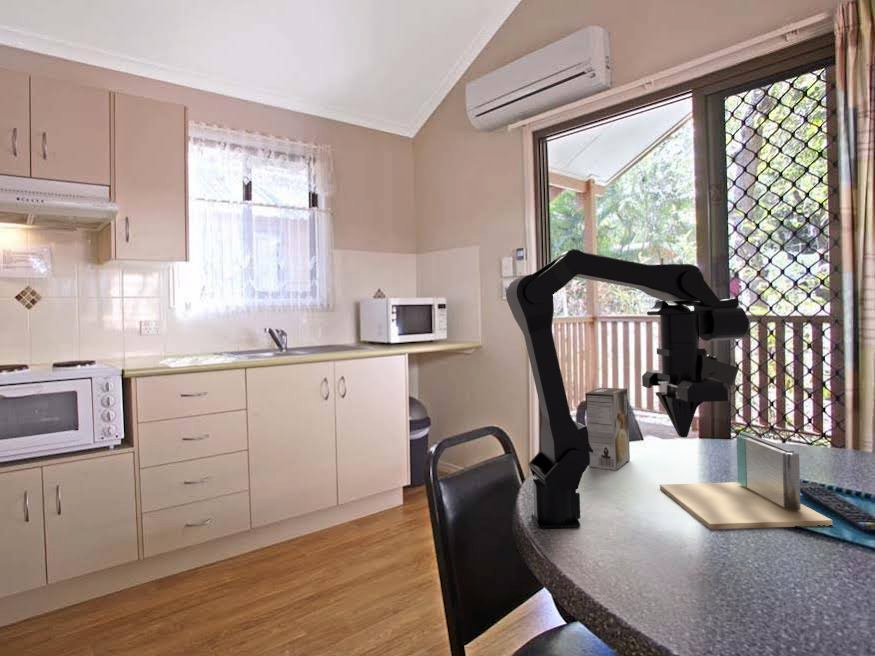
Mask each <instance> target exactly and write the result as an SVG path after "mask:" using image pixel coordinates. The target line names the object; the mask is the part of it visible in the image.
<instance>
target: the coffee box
mask: <svg viewBox="0 0 875 656" xmlns="http://www.w3.org/2000/svg"><path fill="white" fill-rule="evenodd" d="M628 402H629V401H628V388H618V387H598V388H596V389H593V390H590V391H588V392H586V393H585V414H586V419H585V420H586V427H587V430H588V439H589V444H590V447H591V448H592V450H593V453H591V452H589V453H590V465H589V466H588V467H590V468H597V469H602V468H603V470H604V469H605V470H609V469H612V471H618V470H619V469H621V468H622V467H623V466H624V465H625V464H626V462H627V461H628V462H629V461H630V460H631V453H630V449H631V448H630V429H629V427H630V426H629V405H628ZM628 462H627V463H628ZM622 465H623V466H622ZM621 466H622V467H621ZM618 468H619V469H618ZM617 469H618V470H617Z"/></svg>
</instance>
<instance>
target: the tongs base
mask: <svg viewBox="0 0 875 656" xmlns="http://www.w3.org/2000/svg"><path fill="white" fill-rule="evenodd" d="M739 435H743V436H746V437H748V438H751V439H753V440H756V441H758V442H761V443H763V444H766V445H769V446H771V447H774V448H777V449H779V450H782V451H785V452H794V453H795V450H793V449H790V448H788V447H785V446H782V445H780V444H777V443H774V442H772V441H770V440H767V439H764V438H762V437H759V436H756V435H754V434H751V433H748V432H747V431H740V432H739ZM659 490H660V491H662V492H663V493H664V494H666V495H667V496H668V497H669V498H671V499H672V500H673V501H674V502H675V503H676V504H678V505H680V506H681V507H682V508H683V509H685V511H687V512H688V513H690V514H691V515H692V516H693V517H694V518H696V520H698V521H699V522H701V523H702V524H703V525H704V526H705V527H707V528H708V529H709V530H725V529H726V530H729V529H731V530H732V529H733V530H734V529H764V528H765V529H767V528H794V527H795V526H801V527H825V526H826V527H828V526H829V525H833V524H834V523H833V519H831V518H829V517H827V516H825V515H824V514H822V513H820V512H818V511H816V510H814V509H812V508H810V507H808V506H806V505H804V504H803V503H801V510H791V509H788V508H787V507H782V506H780V505H779V504H777V503H775V502H773V501H771V500H769V499H768V498H766V497H764V496H762V495H760V494H758V493H756V492H755V491H753V490H751V489H749V488H747V487H745V486H743V485H741V484H739V483H738V481H734V482H733V481H729V482H701V483H699V482H698V483H673V484H671V483H670V484H659ZM814 525H815V526H814ZM818 525H820V526H818ZM823 525H825V526H823ZM829 527H830V526H829ZM795 528H796V527H795Z"/></svg>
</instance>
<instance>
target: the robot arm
mask: <svg viewBox="0 0 875 656" xmlns="http://www.w3.org/2000/svg"><path fill="white" fill-rule="evenodd" d="M574 278H580V279H585V280H589V281H595V282H601V283H605V284H606V283H607V284H611V285H617V286H621V287H622V286H623V287H628V288H634V289H636V290H639V291H641V292H642V293H643V294H645V295H647V296H649V297H652V298H655V299H658V301H656V302H655V304H654V305H653V306H652V307H651V308H650V309H649V310H648V311H646V314H647V316H650V317H651V316H659V320H660V327H659V328H660V347H659V348H656V355H659V356H660V357H661V370H646V371H645V372H644V373H643V374H642V375H641V383H642V384H641V385H642V387H644V388H647V389H651V388H652V387H658V386H660V387H659V388H660V389H659V392H655V395H656V397H658V400H659V401H660V403H661V404H662V407H663V408H664V411H665V412H666V414H667V416H668V418H669V420H670V422H671V424H672V426H673V428H674V430H675V431H676V433H677V436H678V437H680V438H688V436H689V433H690V429H691V427H692V424H693V421H694V420H693V419H694V417H695V414H696V411H697V408H698V407H699V406H700V405H702V404H703V403H708V402H709V403H710V402H711V403H712V402H713V403H714V402H729V401H731V393H730V391H731V390H730V386H731V387H734V384H735V382H736V378H737V376H738V373H739V370H740V369H739V367H738V366H734V365H731V364H729V363H725V362H722V361H719V359H718V357H717V356H712V355H710V354H708V351H707V350H706V348H702V347H700V339H701V340H702V341H706V342H710V341H729V340H731V341H732V340H741V339H743V338H744V337H745V336H746V335H747V333H748V330H749V327H750V326H749V324H750V321H749V320H750V319H749V318H748V317H747V314H746V311H745V309H744V308H742V307H741V306H740V304H739V303H740V302H739V299H738V298H725V299H719V298H718V296H717V295H716V294H715V293H714V291H713V290H712V289H711V287H710V285H709V284H707V282H706V281H705V278H704V275H703V273H702V272H701V269H700V267H698V266H696V265H694V264H691V263H690V264H689V263H668V264H667V263H665V264H662V263H661V264H647V263H641V262H636V261H631V260H624V259H619V258H617V257H610V256H604V255H601V254H594V253H589V252H584V251H582V250H580V249H577V248H576V249H575V248H573V249H572V248H571V249H570V250H566V251H565V252H562V253H560V254H559V255H558V256H557V257H556V258H555V259H553V260H552V261H550V262H549V263H547V264H546V265H544V266H542V267H541V268H540V269H538V270H536V271H534V273H532V274H531V273H530V274H527V275H524V276H521V277H520V276H519V277H518V278H515V279H514V280H512V281H511V282H510V283H509V285H508V286H507V288H506V293H505V298H506V301H507V304H508V307H509V308H510V311H511V312H510V313H511V314H512V316H513V319H514V320H515V322H516V323H517V325H518V327H519V328H520V330H521V332H522V335H523V337H524V341H525V345H526V349H527V355H528V358H529V362H530V363H529V364H530V368H531V372H532V376H533V380H534V385H535V388H536V389H535V390H536V393H537V398H538V404H539V406H540V411H541V416H542V421H541V422H542V423H541V428H540V448H541V449H540V450H539V451H538V452H537V454H536V455H535V456H534V457H533V458H532V459H531V461H529V462H528V467H529V470H530V473H531V475H532V476H533V477H535V478H536V479H535V478H534V479H532V488H533V491H532V492H533V509H532V510H531V514H532V516H533V518H534V521H535V523H536V525H537V528H539V529H559V528H561V529H562V528H565V529H566V528H580V527H581V522H580V521H579V519H581V500H580V499H581V498H580V497H581V496H580V492H579V491H578V489H579V486H580V482H581V480H582V477H583V474H584V473H585V472H586V470H587V468H588V467H589V465H590V453H589V452H591V453H593V450H592V448H591V447H590V444H589V439H588V430H587V425H584V424H582V423H579V421H576V420H574V419H573V417H572V415H571V410H570V406H569V402H568V397H567V392H566V387H565V384H564V379H563V376H562V371H561V366H560V361H559V357H558V353H557V348H556V345H555V344H556V343H555V339H554V335H553V331H552V330H553V329H552V326H553V318H554V311H555V305H554V304H555V303H554V302H555V301H554V295H555V294H556V293H557V292H559V291H560V290H562V289H563V288H565V286H567V284H569V282H570V281H572V280H573V279H574ZM668 302H671V303H673V304H669V303H668ZM689 307H693V310H691V309H690V308H689Z"/></svg>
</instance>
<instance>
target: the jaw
mask: <svg viewBox="0 0 875 656" xmlns="http://www.w3.org/2000/svg"><path fill="white" fill-rule="evenodd" d="M736 463H737V465H736V466H737V467H736V468H737V482H738V483H739V484H741V485H743V486H745V487H747V488H749V489H751V490H753V491H755V492H756V493H758V494H760V495H762V496H764V497H766V498H768V499H769V500H771V501H773V502H775V503H777V504H779V505H780V506H782V507H787V508H788V509H791V510H801V504H802V503H801V477H800V476H801V475H800V454H799V453H798V452H795V451H794V452H785V451H782V450H779V449H777V448H774V447H771V446H769V445H766V444H763V443H761V442H758V441H756V440H753V439H751V438H748V437H746V436H743V435H740V434H739V435H736Z"/></svg>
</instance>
